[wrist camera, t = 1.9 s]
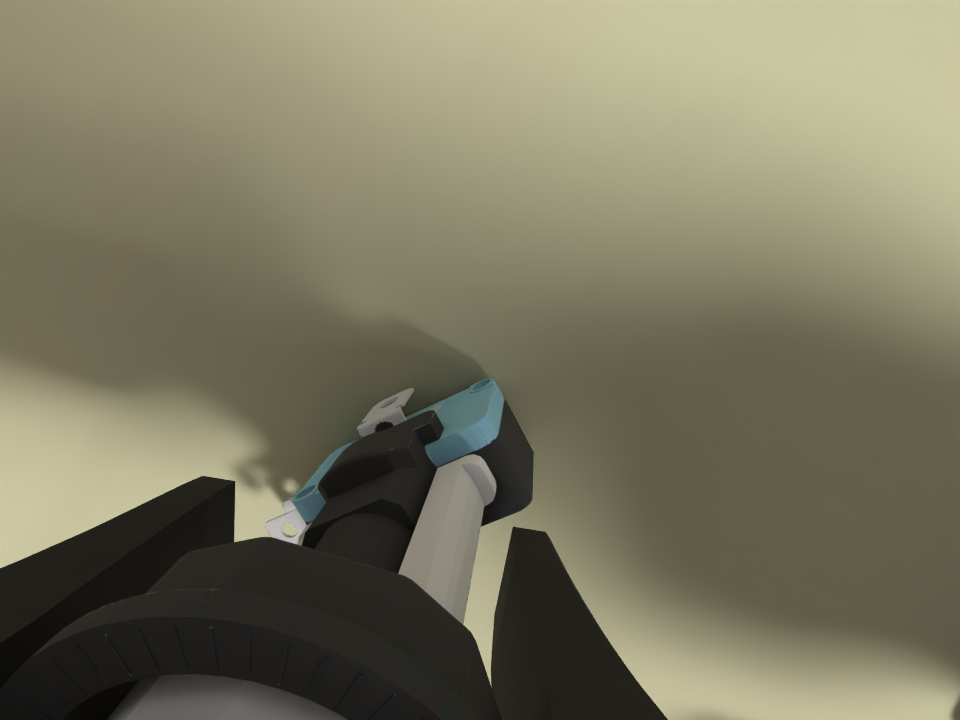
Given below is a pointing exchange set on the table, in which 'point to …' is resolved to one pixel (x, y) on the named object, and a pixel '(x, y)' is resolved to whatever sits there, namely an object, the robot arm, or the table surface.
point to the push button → (314, 592)
